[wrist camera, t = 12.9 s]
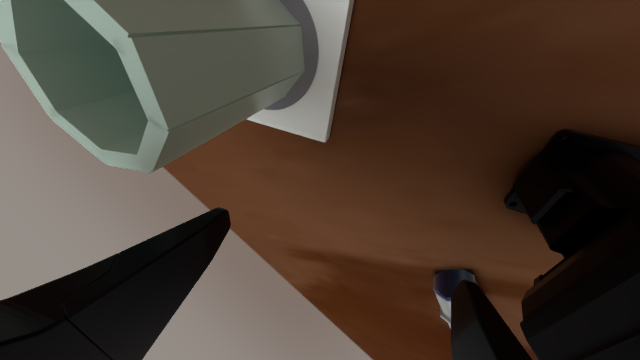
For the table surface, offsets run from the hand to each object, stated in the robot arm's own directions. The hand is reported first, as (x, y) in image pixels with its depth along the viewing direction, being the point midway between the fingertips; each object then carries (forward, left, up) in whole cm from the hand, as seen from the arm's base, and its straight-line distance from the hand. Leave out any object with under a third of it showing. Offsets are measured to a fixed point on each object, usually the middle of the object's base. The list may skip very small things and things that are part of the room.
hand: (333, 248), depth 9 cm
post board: (+10, -4, -13) cm, 17 cm away
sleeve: (+10, -4, -12) cm, 16 cm away
